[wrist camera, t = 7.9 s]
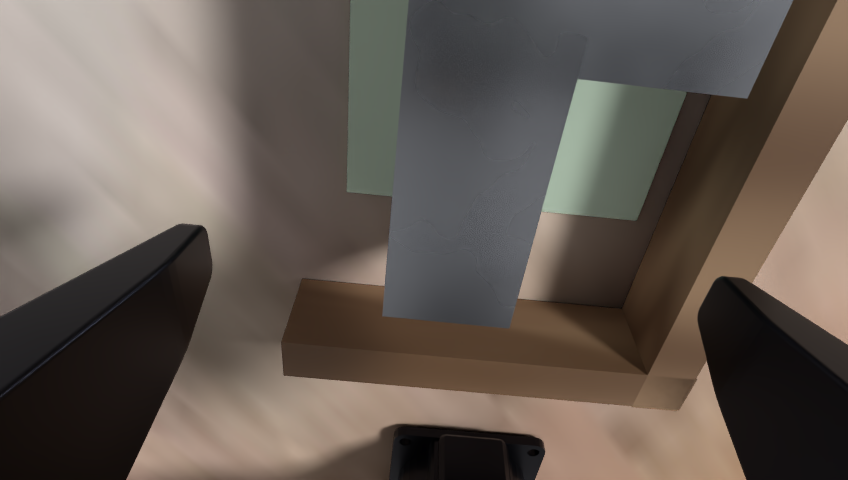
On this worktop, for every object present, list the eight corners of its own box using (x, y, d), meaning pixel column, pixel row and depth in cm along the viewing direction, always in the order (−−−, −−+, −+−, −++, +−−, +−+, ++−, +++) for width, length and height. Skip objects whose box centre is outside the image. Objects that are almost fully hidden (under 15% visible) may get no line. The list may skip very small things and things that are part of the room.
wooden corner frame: (649, 343, 20) (678, 411, 18) (303, 311, 20) (284, 376, 17) (983, -345, 10) (1159, -408, 7) (273, -442, 9) (213, -545, 7)
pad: (635, 218, 17) (636, 220, 17) (347, 189, 17) (346, 192, 17) (769, -127, 12) (773, -127, 12) (354, -178, 12) (353, -179, 11)
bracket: (429, -155, 12) (422, -159, 8) (704, -120, 12) (841, -104, 8) (397, 203, 17) (382, 316, 13) (588, 223, 17) (633, 340, 13)
